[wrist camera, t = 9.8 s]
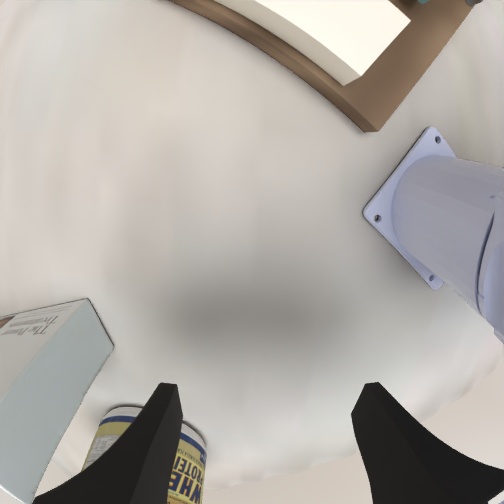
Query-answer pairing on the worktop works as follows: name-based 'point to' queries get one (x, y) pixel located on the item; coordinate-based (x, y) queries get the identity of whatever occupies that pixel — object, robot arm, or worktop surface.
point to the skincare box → (43, 386)
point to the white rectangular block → (329, 29)
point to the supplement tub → (186, 462)
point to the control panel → (382, 69)
